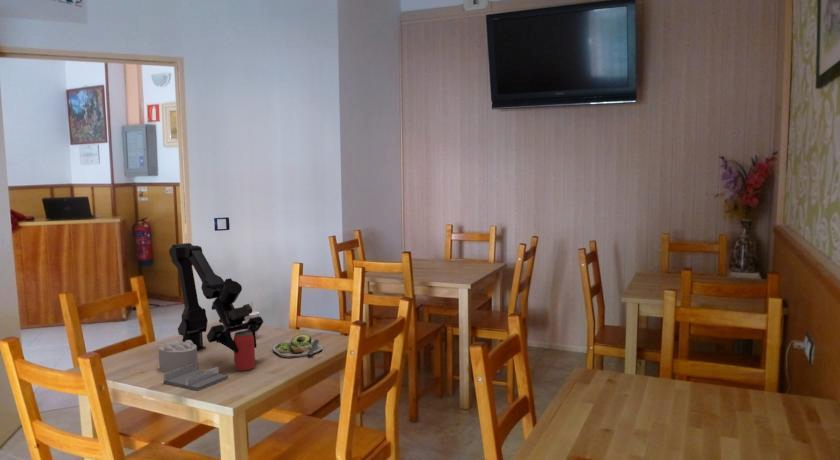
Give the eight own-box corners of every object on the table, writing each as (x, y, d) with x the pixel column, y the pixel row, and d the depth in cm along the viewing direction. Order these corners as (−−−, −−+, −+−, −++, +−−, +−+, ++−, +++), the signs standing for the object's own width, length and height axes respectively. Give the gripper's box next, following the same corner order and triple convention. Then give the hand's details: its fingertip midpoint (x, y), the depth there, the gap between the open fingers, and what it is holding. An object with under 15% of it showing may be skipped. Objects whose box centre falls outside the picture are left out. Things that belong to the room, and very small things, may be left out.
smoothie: (264, 336, 244) (262, 301, 243) (251, 340, 239) (250, 304, 237) (252, 334, 247) (251, 300, 246) (240, 338, 242) (238, 303, 241)
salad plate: (332, 355, 218) (332, 342, 218) (283, 363, 210) (282, 350, 210) (315, 342, 235) (315, 330, 235) (269, 349, 227) (268, 337, 227)
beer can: (231, 368, 205) (229, 333, 203) (249, 363, 209) (247, 329, 208) (240, 372, 200) (239, 336, 199) (259, 368, 204) (257, 332, 203)
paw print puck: (183, 360, 214) (181, 336, 214) (205, 367, 207) (204, 341, 206) (155, 368, 206) (153, 343, 205) (178, 375, 198) (176, 349, 198)
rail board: (194, 371, 202) (194, 362, 202) (227, 378, 195) (227, 369, 194) (163, 383, 191) (163, 373, 191) (197, 390, 184) (197, 380, 184)
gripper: (209, 302, 198) (229, 341, 192) (259, 293, 212) (279, 329, 206) (198, 322, 204) (217, 361, 198) (247, 312, 218) (267, 348, 212)
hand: (246, 349), depth 203 cm, fingers closed on beer can, 7 cm apart
